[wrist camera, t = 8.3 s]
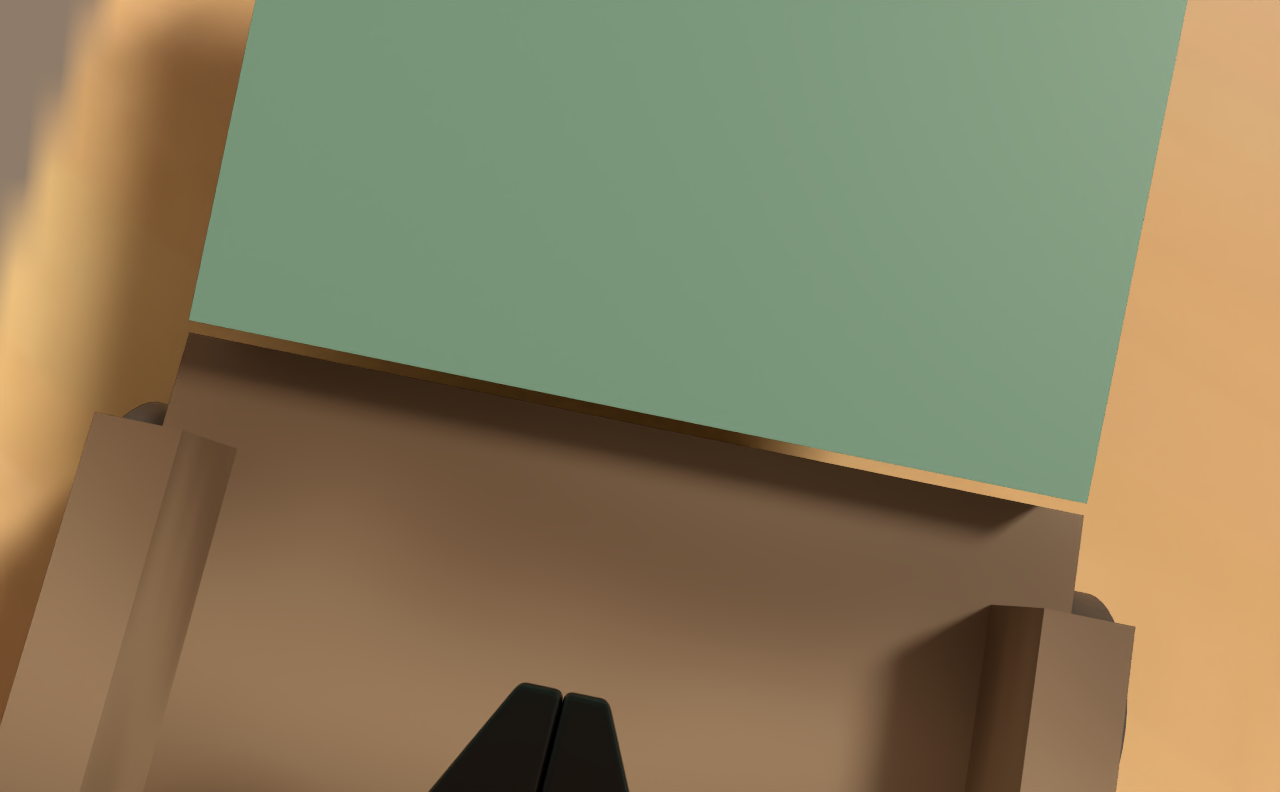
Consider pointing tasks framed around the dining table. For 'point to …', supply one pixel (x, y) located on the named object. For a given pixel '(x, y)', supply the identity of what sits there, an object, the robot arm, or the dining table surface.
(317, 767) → the cart
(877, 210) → the panel
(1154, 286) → the dining table surface
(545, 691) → the robot arm
